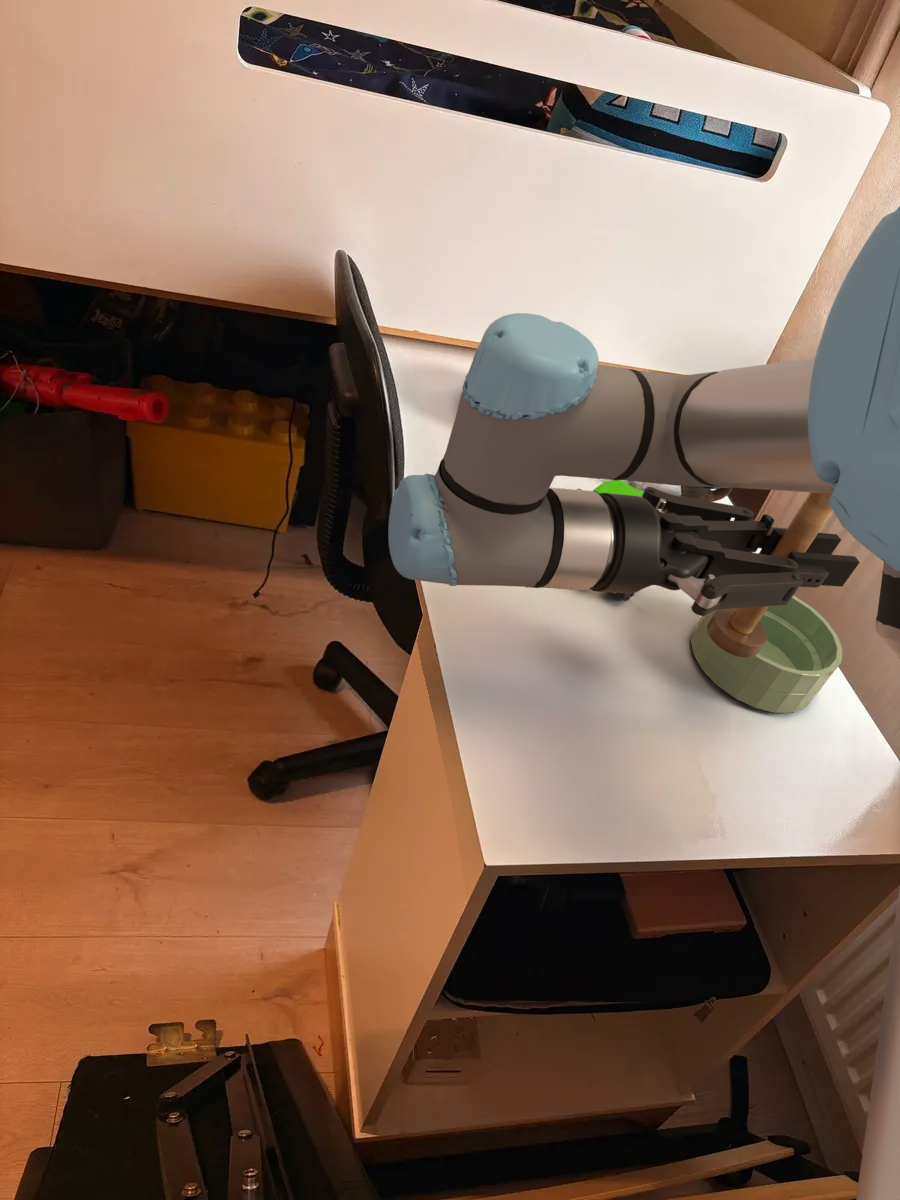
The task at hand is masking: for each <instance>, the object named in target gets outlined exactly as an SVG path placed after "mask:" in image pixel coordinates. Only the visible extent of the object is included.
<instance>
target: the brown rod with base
mask: <svg viewBox="0 0 900 1200" xmlns="http://www.w3.org/2000/svg"><path fill="white" fill-rule="evenodd" d="M831 495H832V494H830V493H814V492H808V495H807V496H806V498H805V500H804V501H803V503H802V504H801V506H800V507H799V510H798V511H797V512H796V514H795V515H794V517H793V518H792V520H791V522H790V524H789V525H788V526H787V527H786V528H787V530H786V531H785V533H784V534H783V536H782V537H781V539H780V541H779V542H778V544H777V545H776V547H775V548H774V550H773V552H772V553H771V555H772V556H778V557H785V558H787V557H788V556H789V554H790V553H791V551H792V552H806V550H807V549H808V547H809V546H810V544H811V543H812V541H813V540H814V538H815V537H816V535H817V534H818V533H820V531H821V530H822V528H823V526H824V525H825V524H826V522H827V521H828V519H829V517H830V516H831V515H832V513H833V512H834V511H833V509H832V508H831V507H830V505H829V499H830V497H831ZM768 608H769V606H763V607H746V608H730V609H717V610H716V611H715V612H714V614H713V616H712V617H711V619H710V621H709V622H708V624H707V632H708V634H709V636H710V638H711V639H712V640H713V642H714V643H715V644H716V645H717V646H719V647H720V648H721V649H723V650H724V651H726V652H728V653H730V654H732V655H735V656H738V657H744V658H749V657H753V656H755V655H757V654H758V652H759V651H760V649H761V648H762V647H763V645H764V644H765V642H766V640H767V632H766V630H765V628H764V626H763V625H762V624H761V623H760V620H761V618H762V617H763V615H764V614H765V612H766V611H767V609H768Z"/></svg>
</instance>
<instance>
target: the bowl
mask: <svg viewBox="0 0 900 1200" xmlns="http://www.w3.org/2000/svg"><path fill="white" fill-rule="evenodd" d="M715 611H716V610H715ZM715 611H713V612H711V613H709V614H707V615H705V616H700V619H699V621H698V622H697V623H696V626H695V627H694V629H693V632H692V635H691V638H690V643H691V648H692V654H693V656H694V657H695V659H696V662H697V663H698V665H699V666H700V668H701V670H702V671H703V672H704V673H705V675H706V676H707V677H708V678H709V679H710V680H711V681H712V682H713V683H714V684H715V685H716V686H717V687H719V688H720V689H721V690H722V691H724V692H726V693H727V694H729V695H730V696H731V697H733V698H734V699H736V700H738V701H740V702H742V703H744V704H746V705H748V706H749V707H752V708H755V709H759V710H762V711H766V712H769V713H774V714H786V713H787V714H792V713H795V712H798V711H800V710H804V709H806V708H807V707H808V705H810V703H811V702H812V701H813V700H814V699H815V697H816V696H817V694H818V693H819V692H820V691H821V689H822V688H823V687H824V685H825V684H826V683H827V682H828V680H829V679H830V678H831V677H832V675H833V674H834V672H836V671H837V669H838V668H839V666H840V665H841V664H842V663H843V662H842V659H843V651H844V650H843V646H842V644H841V641H840V638H839V636H838V634H837V632H835V630H834V629H833V627H832V626H831V625H830V622H828V621H827V620H826V619H825V618H824V617H823V616H822V615H821V614H820V613H819V612H818V611H817V610H816V609H815V608H814V607H812V606H811V605H809V603H807V602H805V601H803V600H802V599H800V598H799V597H797V596H795V594H794V595H793V597H792V598H791V599H790V601H789V602H788V604H787V605H779V606H769V608H768V609H767V611H766V612H765V614H764V615H763V617H762V618H761V620H760V623H761V624H762V625H763V626H764V628H765V630H766V632H767V640H766V642H765V644H764V645H763V647H762V648H761V649H760V651H759V652H758V654H757V655H755V656H753V657H749V658H744V657H738V656H735V655H732V654H730V653H728V652H726V651H724V650H723V649H721V648H720V647H719V646H717V645H716V644H715V643H714V642H713V640H712V639H711V638H710V636H709V634H708V632H707V624H708V622H709V621H710V619H711V617H712V616H713V614H714V612H715Z"/></svg>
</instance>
